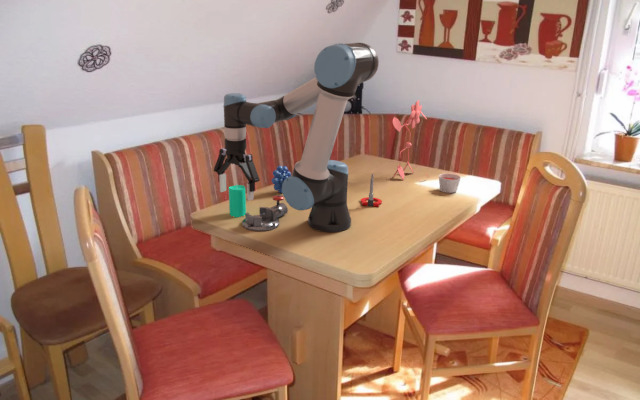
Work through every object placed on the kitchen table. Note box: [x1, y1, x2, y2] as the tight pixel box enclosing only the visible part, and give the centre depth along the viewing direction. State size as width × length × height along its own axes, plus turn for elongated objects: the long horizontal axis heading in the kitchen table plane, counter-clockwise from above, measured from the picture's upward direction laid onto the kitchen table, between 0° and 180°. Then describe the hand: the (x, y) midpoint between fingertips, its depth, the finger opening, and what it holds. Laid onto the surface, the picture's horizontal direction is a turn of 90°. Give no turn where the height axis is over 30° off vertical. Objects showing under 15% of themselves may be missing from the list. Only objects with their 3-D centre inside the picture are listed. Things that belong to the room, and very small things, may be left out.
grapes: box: [271, 165, 292, 194], centre depth 222 cm, size 12×7×12 cm, turn 145°
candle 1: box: [228, 184, 247, 218], centre depth 199 cm, size 6×6×12 cm
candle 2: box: [438, 172, 461, 194], centre depth 231 cm, size 9×9×6 cm
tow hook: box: [360, 173, 383, 208], centre depth 214 cm, size 8×13×9 cm
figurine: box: [386, 99, 429, 183], centre depth 243 cm, size 15×26×35 cm, turn 146°
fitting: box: [241, 194, 289, 232], centre depth 193 cm, size 13×19×8 cm
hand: (236, 195), depth 199 cm, fingers open, 13 cm apart
